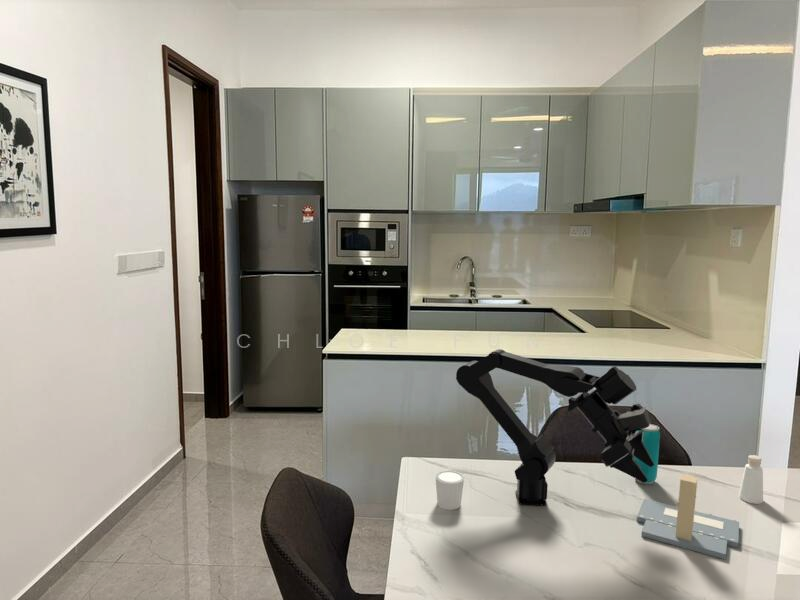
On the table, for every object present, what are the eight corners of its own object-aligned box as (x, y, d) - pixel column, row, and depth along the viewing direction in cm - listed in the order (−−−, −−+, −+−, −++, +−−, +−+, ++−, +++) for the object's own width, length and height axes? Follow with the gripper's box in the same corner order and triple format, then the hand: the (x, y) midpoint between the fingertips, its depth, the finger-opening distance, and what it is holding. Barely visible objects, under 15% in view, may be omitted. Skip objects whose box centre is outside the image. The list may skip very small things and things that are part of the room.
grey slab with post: (641, 536, 125) (646, 474, 123) (645, 523, 130) (650, 464, 128) (725, 559, 117) (732, 494, 115) (726, 545, 122) (733, 482, 120)
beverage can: (653, 477, 154) (658, 423, 152) (658, 486, 149) (662, 431, 147) (631, 474, 155) (635, 421, 153) (634, 484, 150) (638, 429, 148)
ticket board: (636, 521, 131) (637, 515, 131) (643, 503, 140) (644, 498, 140) (737, 548, 121) (738, 542, 121) (738, 526, 130) (739, 521, 129)
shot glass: (431, 507, 136) (431, 479, 135) (440, 495, 143) (440, 468, 142) (458, 513, 134) (459, 485, 133) (466, 500, 140) (467, 473, 139)
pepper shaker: (741, 491, 147) (745, 450, 145) (766, 499, 143) (770, 457, 141) (735, 498, 143) (739, 456, 141) (760, 506, 139) (764, 463, 137)
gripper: (620, 406, 118) (675, 470, 114) (636, 385, 134) (684, 440, 130) (579, 435, 123) (630, 497, 119) (599, 411, 139) (644, 465, 135)
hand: (649, 473), depth 126 cm, fingers open, 9 cm apart
